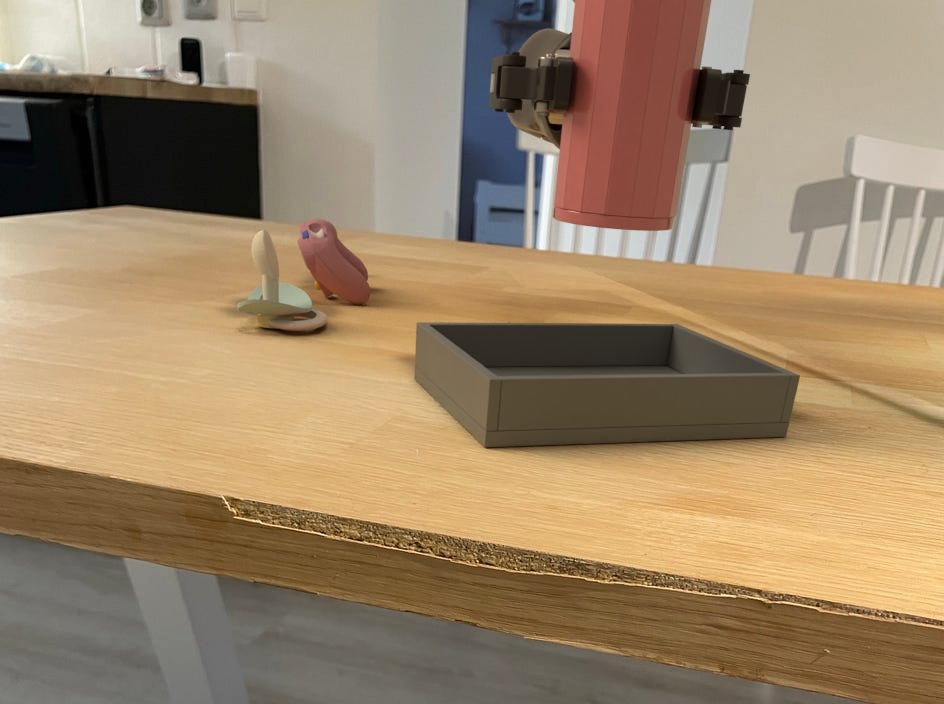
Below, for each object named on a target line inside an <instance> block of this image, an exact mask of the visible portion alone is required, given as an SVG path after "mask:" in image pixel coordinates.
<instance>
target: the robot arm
mask: <svg viewBox="0 0 944 704" xmlns="http://www.w3.org/2000/svg"><path fill="white" fill-rule="evenodd" d="M572 2H573V3H574V4H575V0H572ZM571 37H572V31H571V32H570V33H567V32H564V31H561V30H559V29H554V28H543V29H540V30H538V31H536V32H535V33H533V34H532V35H531V36H530V37H529V38H528V39H527V40H525V41H524V43H523V44H522V45H521V47H520V48H519V49H518V50H517V51H510V52H509V54H501V55H498V56H495V57H493V58H491V72H490V73H491V74H490V84H489V99H488V100H489V102H488V109H494V112H497V113H504V111H505V113H506V114H507V117H508V119H509V121H510V123H511V124H512V125H513V126H514V127H515V128H516V129H518V130H519V131H522V132H524V133H526V134H528V135H531V136H533V137H535V138H538V139H542V140H543V141H545V142H548V143H550V144H552V145H553V146H555V148H557V149H558V150H559V151H560V143H561V133H562V123H563V114H564V111H567V110H568V104H569V96H570V86H571V77H572V67H573V58H570V57H569V56H570V47H571ZM744 71H745V70H743V69H733V72H724V73H723V71H722V69H717V68H713V67H712V66H703V65H701V68H700V73H699V79H698V86H697V92H696V98H695V104H694V110H693V116H692V122H691V128H699V129H702V128H703V126H711V127H712V129H713V130H722V127H723V130H724V131H734V128H738V129H739V128H741V127H742V126H741V125H742V121H743V117H742V116H743V109H744V104H745V99H746V95H747V94H746V93H747V89H748V86H749V83H750V78H751V74H750V73H744Z"/></svg>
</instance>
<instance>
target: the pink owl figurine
mask: <svg viewBox="0 0 944 704" xmlns="http://www.w3.org/2000/svg"><path fill="white" fill-rule="evenodd" d="M299 233H300V237H299V238H298V239H297V240H296V242H297V243H296V244H297V246H298V248H299V254H300V256H301V258H302V260H303V261H302V262H303V263H304V264H305V267H306V268H307V270H309V272H310V274H311V276H312V278H313V279H314V280H315V281H314V282H313V283H314V286H315V288H316V290H318V291H320V290H321V292H322V294H323V296H324V297H325V298H328V297H330V296H333V295H335V296H337V297H339V298H340V299H342V300H344V301H346V302H347V303H350V304H354V305H364V304H366V303H367V302H368V301H369V300H370V297H371V293H372V292H371V286H370V284H369V282H368V281H369V273H368V269H367V267H366V266H365V264H364V262H363V261H362V260H361V259H360V258H359V257H358V255H356V254H354V253H353V252H352V251H351V250H350V249H349V248H347V246H346V245H344V243H343V242H342V241H341V240H340V239H339V238H338V232H337V229H336V227H335V225H334V224H333V223H332V222H330V221H329V220H326V219H324V218H312V219H309V220H307V221H303V222H302V223H300V224H299Z"/></svg>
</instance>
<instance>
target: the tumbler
mask: <svg viewBox="0 0 944 704" xmlns="http://www.w3.org/2000/svg"><path fill="white" fill-rule="evenodd" d="M711 6H712V0H575V3H574V9H573V18H572V29H571V32H572V37H571V47H570V56H569V57H570V58H573V67H572V77H571V86H570V96H569V104H568V110H567V111H564V114H563V123H562V133H561V143H560V150H559V153H558V163H557V173H556V183H555V192H554V201H553V211H552V218H553V219H554V220H555V221H558V222H562V223H566V224H571V225H576V226H583V227H591V228H599V229H600V228H601V229H610V230H623V231H638V232H639V231H643V232H660V231H661V232H663V231H670V230H673V229H674V228H675V227H674V226H675V222H676V217H677V215H678V208H679V202H680V196H681V195H680V194H681V190H682V189H681V188H682V183H683V177H684V173H685V172H684V171H685V166H686V165H685V164H686V158H687V152H688V147H689V140H690V135H691V128H692V124H691V122H692V116H693V110H694V104H695V98H696V92H697V86H698V79H699V73H700V69H701V68H702V61H703V60H702V59H703V55H704V49H705V48H704V47H705V42H706V37H707V29H708V24H709V18H710V10H711Z"/></svg>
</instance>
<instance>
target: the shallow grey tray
mask: <svg viewBox="0 0 944 704" xmlns="http://www.w3.org/2000/svg"><path fill="white" fill-rule="evenodd" d="M415 329H416V330H415V353H414V354H415V355H414V375H413V376H414V377H413V378H414V380H415V381H416V382H417V383H418V384H419V385H420V386H421V387H422V388H423V389H424V390H425V391H426V392H427V393H428V394H429V395H430V396H431V397H432V398H433V399H435V400H436V401H437V402H438V404H439V405H440V406H442V407H443V408H444V409H445V410H446V412H448V413H449V415H451V416H452V417H453V418H454V419H455V420H456V421H457V422H458V423H459V424H460V425H461V426H462V427H463V428H464V429H465V430H466V431H467V432H469V434H470V435H472V437H473V438H474V439H476V441H478V442H479V444H481V446H482V447H484V448H504V447H505V448H506V447H507V448H508V447H534V446H536V447H537V446H563V445H564V446H565V445H589V444H590V445H594V444H616V443H617V444H620V443H649V442H677V441H678V442H679V441H702V440H705V441H706V440H707V441H708V440H730V439H731V440H733V439H736V440H737V439H755V438H756V439H759V438H760V439H761V438H763V439H764V438H785V437H787V434H788V430H789V426H790V421H791V417H792V413H793V408H794V404H795V400H796V395H797V392H798V388H799V384H800V379H801V375H800V374H798V373H795V372H793V371H791V370H788V369H786V368H785V367H782V366H779V365H776V364H774V363H772V362H769V361H766V360H765V359H762V358H760V357H758V356H756V355H753V354H750V353H748V352H746V351H743V350H741V349H739V348H736V347H734V346H731V345H729V344H727V343H724V342H722V341H719V340H717V339H714V338H712V337H709V336H707V335H706V334H702V333H700V332H698V331H695V330H693V329H690V328H688V327H685V326H683V325H681V324H678V323H615V322H614V323H613V322H612V323H599V322H598V323H596V322H594V323H593V322H589V323H588V322H585V323H584V322H573V323H572V322H441V321H440V322H438V321H437V322H435V321H434V322H426V321H424V322H423V321H422V322H421V321H419V322H416V328H415Z"/></svg>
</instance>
